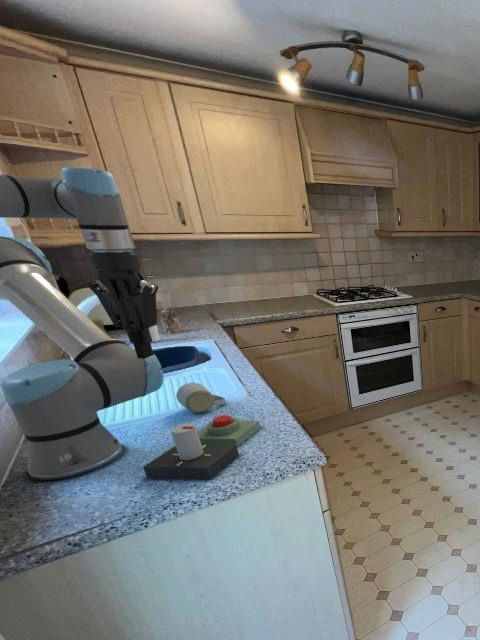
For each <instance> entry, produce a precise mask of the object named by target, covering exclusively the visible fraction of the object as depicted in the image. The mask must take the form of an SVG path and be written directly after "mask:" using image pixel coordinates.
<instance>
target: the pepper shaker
mask: <svg viewBox="0 0 480 640" xmlns="http://www.w3.org/2000/svg"><path fill="white" fill-rule="evenodd" d="M90 320H91V321H93V322H94V323H95V324H96V325H97V326H98V327H99V328H100V329H101V330H102V331H103V332H105V333H106V334H107V335H108V333H107V331H106V329H105V328H104V325H105V323H104V321H103V320H102V319H99V318H96V319H95V318H94V319H90Z"/></svg>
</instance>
